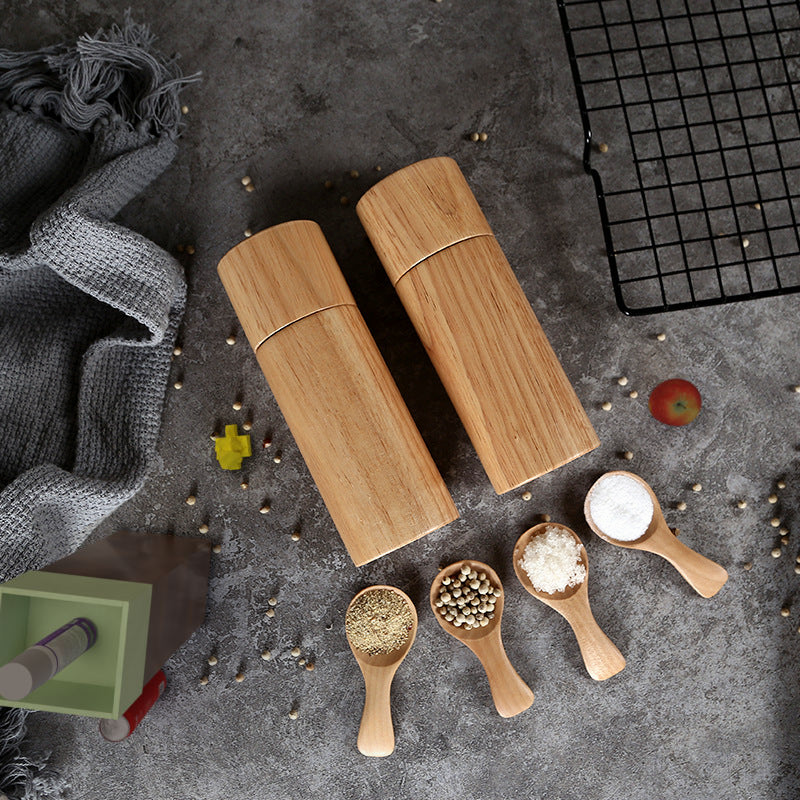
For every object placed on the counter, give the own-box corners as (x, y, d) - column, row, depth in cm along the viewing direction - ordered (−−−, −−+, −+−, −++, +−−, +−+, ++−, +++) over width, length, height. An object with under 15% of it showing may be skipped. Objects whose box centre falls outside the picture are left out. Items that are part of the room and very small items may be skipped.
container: (63, 647, 90) (-9, 698, 75) (67, 614, 90) (-4, 658, 75) (96, 652, 89) (30, 704, 74) (100, 619, 89) (35, 665, 74)
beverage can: (163, 661, 118) (125, 701, 103) (172, 695, 118) (136, 740, 103) (132, 669, 118) (90, 710, 103) (141, 703, 118) (101, 749, 103)
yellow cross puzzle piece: (248, 423, 116) (236, 425, 108) (253, 466, 116) (241, 472, 109) (216, 426, 116) (202, 429, 109) (221, 469, 117) (207, 475, 109)
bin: (20, 678, 91) (-15, 704, 83) (30, 570, 90) (-4, 586, 83) (142, 693, 90) (117, 720, 83) (152, 584, 90) (129, 601, 83)
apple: (695, 392, 114) (722, 392, 104) (673, 432, 114) (698, 436, 104) (655, 370, 114) (677, 369, 104) (633, 411, 114) (653, 413, 104)
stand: (113, 610, 118) (22, 676, 91) (121, 529, 117) (32, 572, 90) (204, 620, 117) (140, 690, 90) (212, 539, 117) (150, 586, 90)
